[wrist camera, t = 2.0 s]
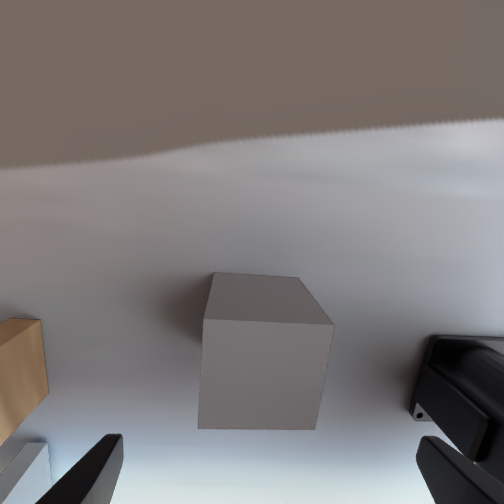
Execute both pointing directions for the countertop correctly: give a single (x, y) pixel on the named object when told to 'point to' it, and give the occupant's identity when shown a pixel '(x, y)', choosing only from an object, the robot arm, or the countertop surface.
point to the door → (26, 476)
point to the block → (262, 354)
